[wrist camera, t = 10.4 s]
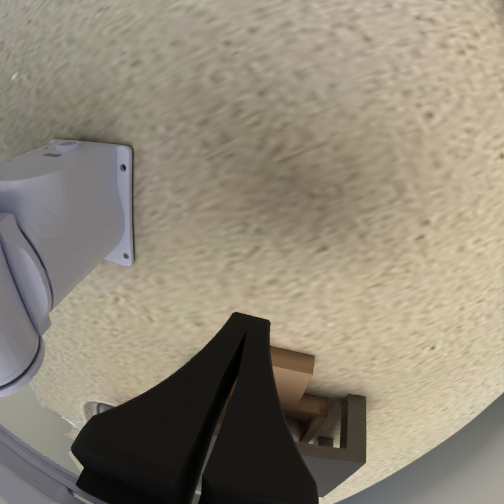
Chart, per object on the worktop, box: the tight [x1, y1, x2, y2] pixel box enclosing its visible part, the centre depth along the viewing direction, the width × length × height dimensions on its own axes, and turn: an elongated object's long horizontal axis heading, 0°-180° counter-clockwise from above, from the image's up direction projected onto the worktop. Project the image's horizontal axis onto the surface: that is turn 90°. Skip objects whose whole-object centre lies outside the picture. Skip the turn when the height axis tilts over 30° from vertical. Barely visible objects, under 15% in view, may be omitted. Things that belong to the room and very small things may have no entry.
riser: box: [201, 394, 366, 497], centre depth 27 cm, size 11×17×7 cm, turn 82°
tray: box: [218, 347, 328, 443], centre depth 27 cm, size 14×10×4 cm
